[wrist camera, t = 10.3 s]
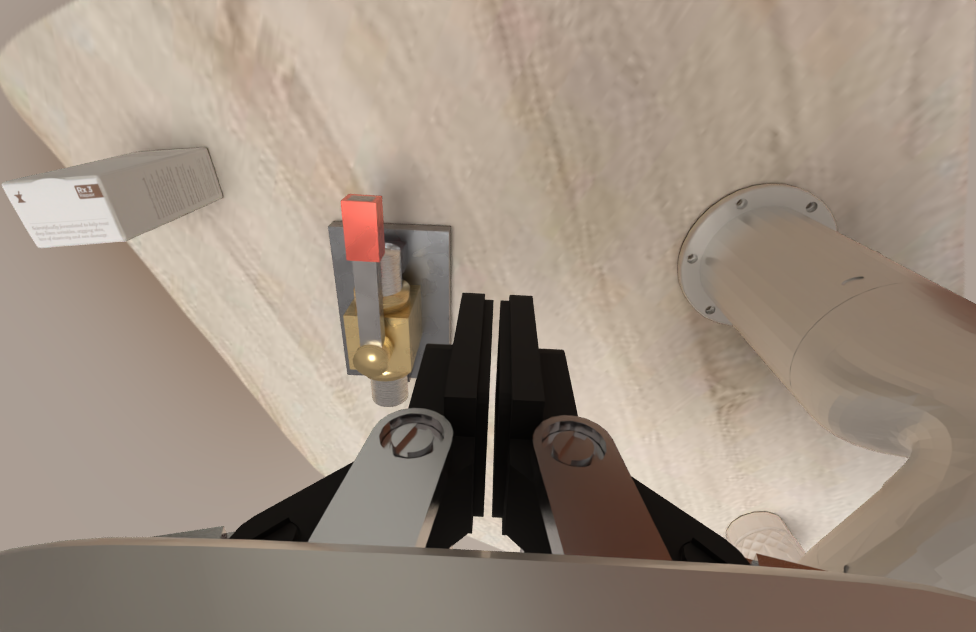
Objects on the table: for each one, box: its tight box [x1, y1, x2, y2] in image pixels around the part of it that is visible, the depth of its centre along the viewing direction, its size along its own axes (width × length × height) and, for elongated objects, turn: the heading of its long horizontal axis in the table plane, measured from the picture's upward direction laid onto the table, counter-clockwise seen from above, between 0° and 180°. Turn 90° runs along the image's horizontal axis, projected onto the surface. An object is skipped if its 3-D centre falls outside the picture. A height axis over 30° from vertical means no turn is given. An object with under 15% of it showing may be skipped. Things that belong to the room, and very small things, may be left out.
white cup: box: [727, 512, 806, 563], centre depth 53 cm, size 8×8×10 cm
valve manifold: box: [328, 221, 451, 407], centre depth 41 cm, size 10×15×8 cm, turn 178°
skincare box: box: [2, 147, 222, 248], centre depth 33 cm, size 6×4×12 cm
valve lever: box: [341, 194, 394, 377], centre depth 33 cm, size 13×3×2 cm, turn 177°
